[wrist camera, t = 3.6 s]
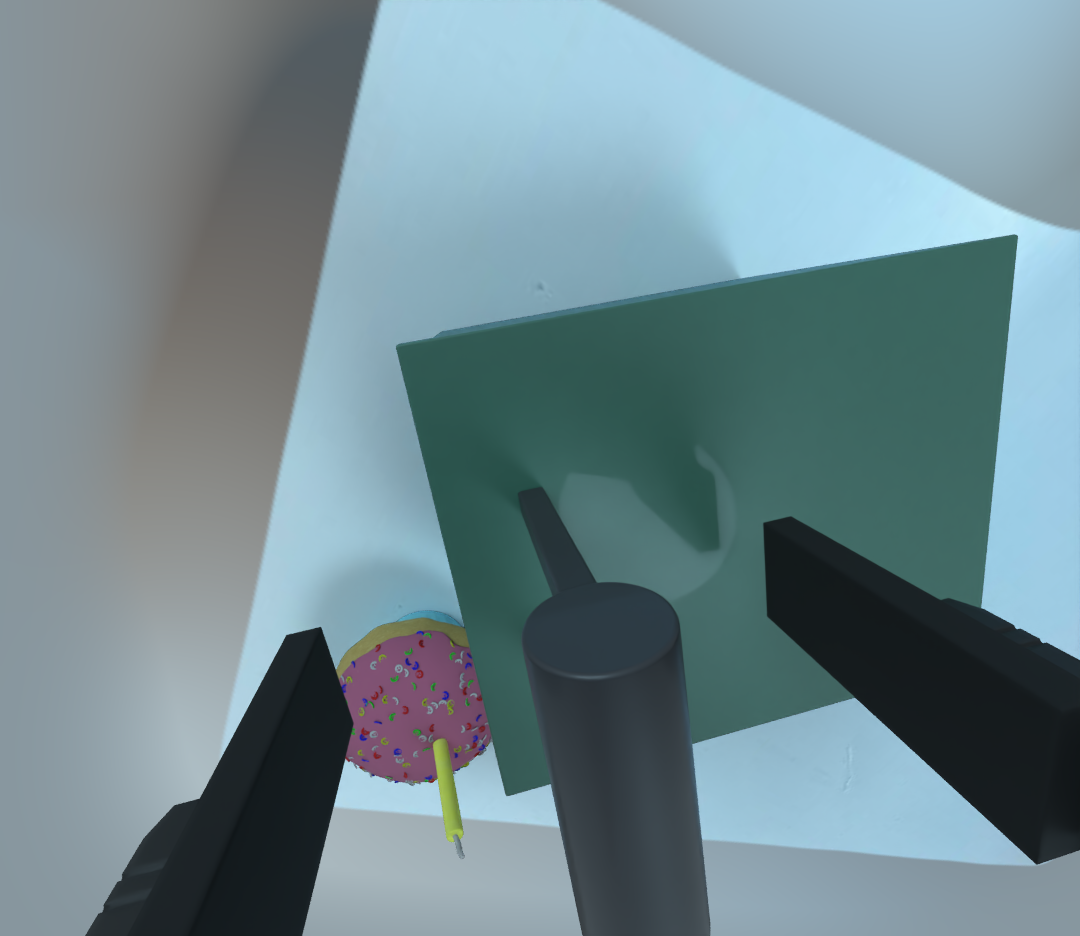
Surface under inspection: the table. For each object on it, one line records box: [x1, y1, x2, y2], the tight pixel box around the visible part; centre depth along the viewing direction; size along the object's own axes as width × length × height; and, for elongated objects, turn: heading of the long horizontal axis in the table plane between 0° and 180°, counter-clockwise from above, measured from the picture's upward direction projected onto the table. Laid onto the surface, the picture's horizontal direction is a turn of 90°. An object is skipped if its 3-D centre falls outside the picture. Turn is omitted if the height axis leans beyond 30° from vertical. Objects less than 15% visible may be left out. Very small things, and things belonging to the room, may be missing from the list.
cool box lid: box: [396, 235, 1018, 936], centre depth 12 cm, size 17×14×8 cm
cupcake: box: [336, 611, 493, 859], centre depth 24 cm, size 9×8×12 cm
